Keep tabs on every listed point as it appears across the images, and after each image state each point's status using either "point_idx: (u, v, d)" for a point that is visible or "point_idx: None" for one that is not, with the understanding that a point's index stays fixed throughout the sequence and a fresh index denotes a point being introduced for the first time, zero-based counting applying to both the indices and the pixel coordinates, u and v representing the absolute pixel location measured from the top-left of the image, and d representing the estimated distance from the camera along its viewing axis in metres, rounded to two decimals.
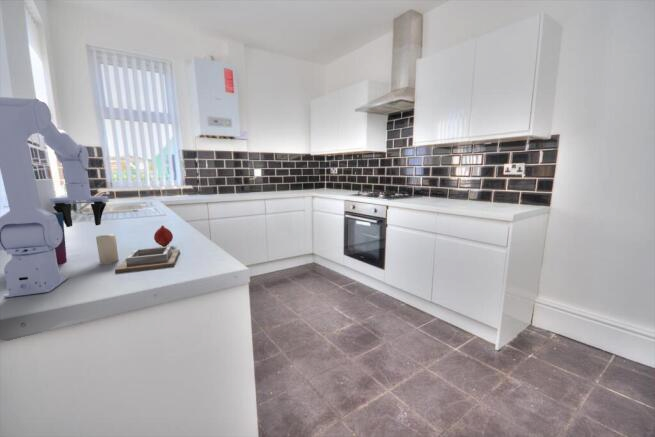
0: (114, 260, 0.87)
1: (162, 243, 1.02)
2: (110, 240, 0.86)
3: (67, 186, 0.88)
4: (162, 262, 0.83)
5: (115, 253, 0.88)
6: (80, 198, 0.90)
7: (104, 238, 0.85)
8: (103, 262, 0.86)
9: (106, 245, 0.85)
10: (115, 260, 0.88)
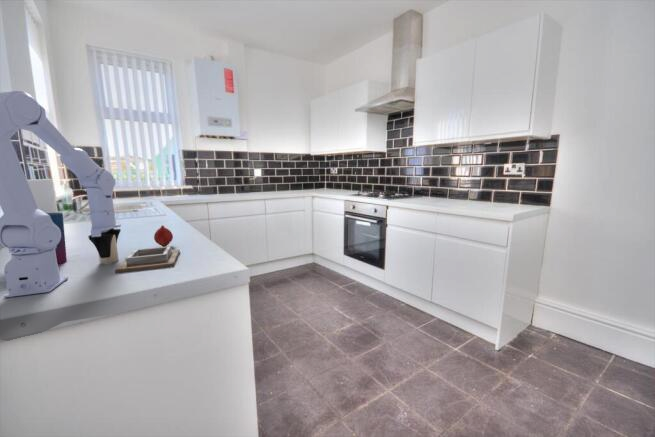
0: (114, 260, 0.87)
1: (162, 243, 1.02)
2: None
3: None
4: (162, 262, 0.83)
5: (115, 253, 0.88)
6: (91, 227, 0.84)
7: None
8: (103, 262, 0.86)
9: None
10: (115, 260, 0.88)
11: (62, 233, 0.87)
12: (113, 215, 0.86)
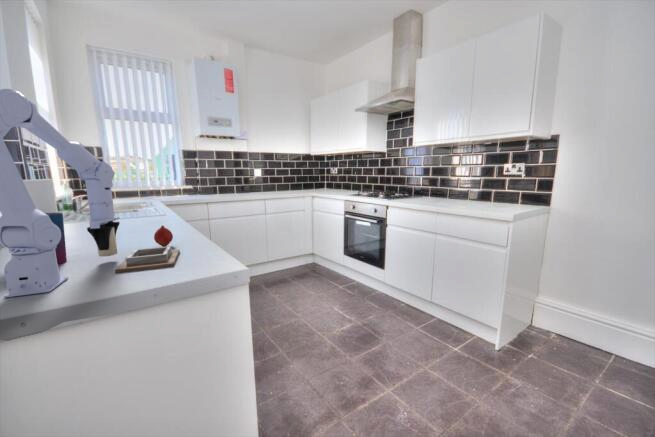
0: (113, 253, 0.87)
1: (162, 243, 1.02)
2: None
3: None
4: (162, 262, 0.83)
5: (114, 246, 0.87)
6: (90, 219, 0.84)
7: None
8: (102, 254, 0.85)
9: None
10: (114, 253, 0.87)
11: (62, 233, 0.87)
12: (112, 207, 0.86)
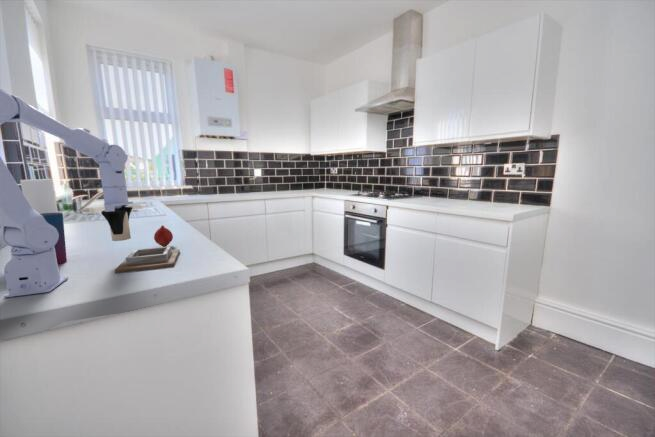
0: (126, 237, 0.86)
1: (162, 243, 1.02)
2: None
3: None
4: (162, 262, 0.83)
5: (127, 230, 0.86)
6: (104, 203, 0.83)
7: None
8: (115, 239, 0.85)
9: None
10: (127, 237, 0.86)
11: (62, 233, 0.87)
12: (125, 191, 0.85)
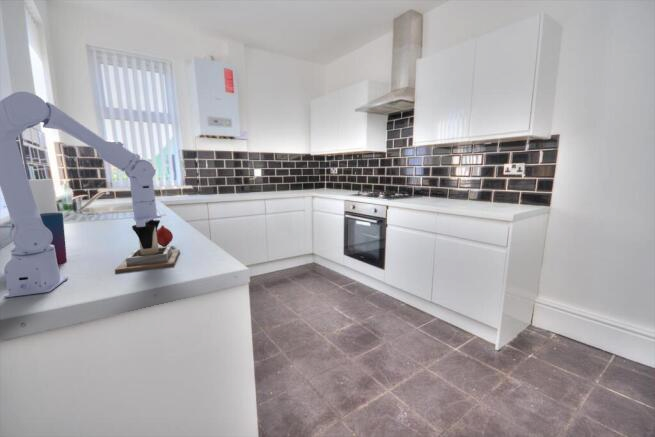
0: (155, 251, 0.86)
1: (162, 243, 1.02)
2: None
3: None
4: (162, 262, 0.83)
5: (156, 244, 0.87)
6: (134, 218, 0.83)
7: None
8: (144, 253, 0.85)
9: None
10: (156, 251, 0.87)
11: (62, 233, 0.87)
12: (155, 205, 0.85)
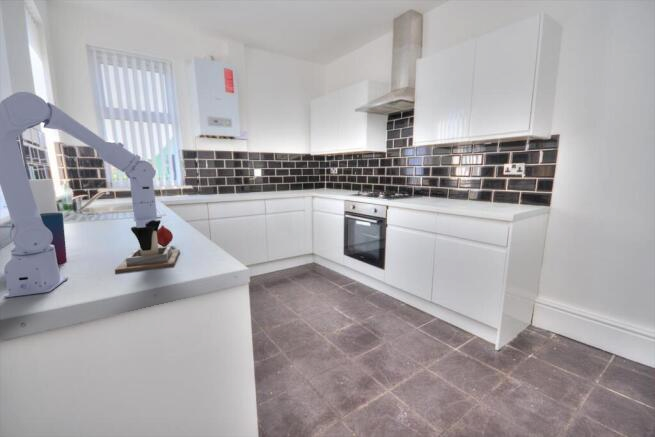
0: None
1: (162, 243, 1.02)
2: (152, 236, 0.85)
3: None
4: (162, 262, 0.83)
5: (156, 250, 0.87)
6: (134, 218, 0.83)
7: None
8: None
9: None
10: None
11: (62, 233, 0.87)
12: (155, 206, 0.86)
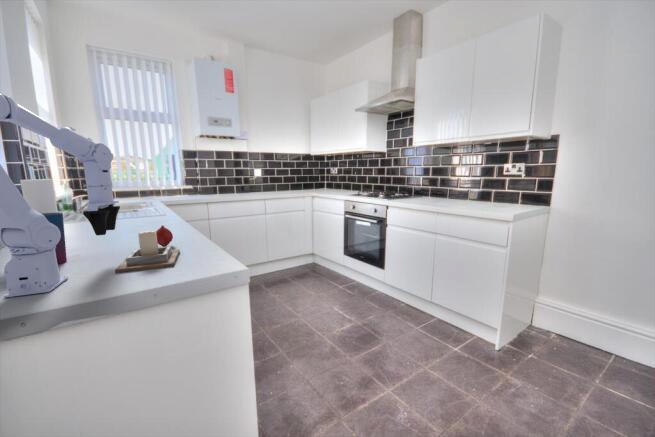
0: None
1: (162, 243, 1.02)
2: (152, 236, 0.85)
3: None
4: (162, 262, 0.83)
5: (156, 249, 0.87)
6: (88, 203, 0.82)
7: (146, 234, 0.84)
8: None
9: (148, 241, 0.85)
10: None
11: (62, 233, 0.87)
12: (111, 191, 0.84)
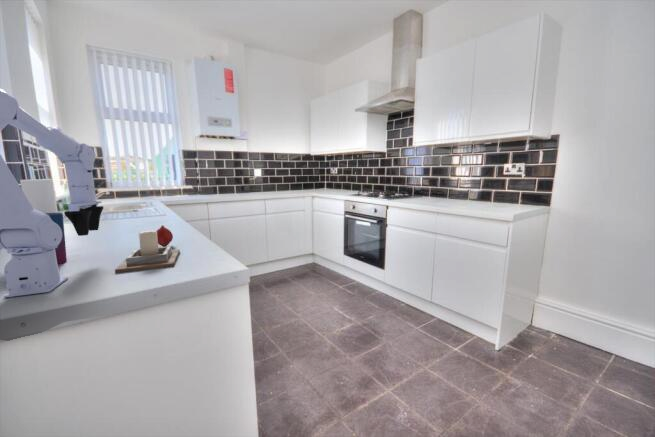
0: None
1: (162, 243, 1.02)
2: (152, 236, 0.85)
3: None
4: (162, 262, 0.83)
5: (156, 250, 0.87)
6: (70, 203, 0.82)
7: (147, 234, 0.84)
8: None
9: (148, 241, 0.85)
10: None
11: (62, 233, 0.87)
12: (93, 191, 0.84)
